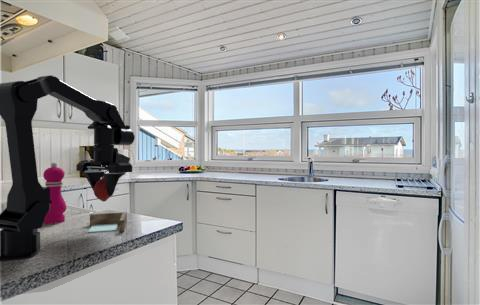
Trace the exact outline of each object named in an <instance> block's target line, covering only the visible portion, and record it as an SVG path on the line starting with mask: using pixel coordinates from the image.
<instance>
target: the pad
mask: <svg viewBox="0 0 480 305" xmlns="http://www.w3.org/2000/svg"><path fill="white" fill-rule="evenodd" d="M118 226H119V223H118V224H103V225H91V227H90V228H89V230H87V233H88V234H89V233H90V234H91V233H101V232H102V233H103V232H115V231H117V228H118Z"/></svg>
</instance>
